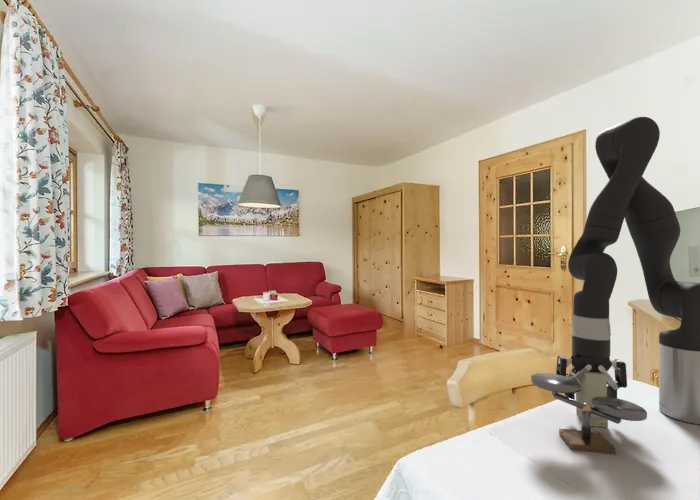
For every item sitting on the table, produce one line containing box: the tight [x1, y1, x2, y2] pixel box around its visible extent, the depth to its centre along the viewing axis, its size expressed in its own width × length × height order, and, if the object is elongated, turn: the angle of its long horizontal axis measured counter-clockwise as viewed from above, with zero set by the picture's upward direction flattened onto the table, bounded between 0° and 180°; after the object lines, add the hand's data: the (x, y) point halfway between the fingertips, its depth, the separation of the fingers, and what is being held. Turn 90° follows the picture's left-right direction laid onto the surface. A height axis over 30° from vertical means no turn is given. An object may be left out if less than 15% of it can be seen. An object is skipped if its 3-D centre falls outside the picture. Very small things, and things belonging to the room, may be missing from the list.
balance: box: [530, 372, 648, 455], centre depth 70 cm, size 21×9×13 cm, turn 79°
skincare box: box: [575, 372, 609, 428], centre depth 80 cm, size 6×4×12 cm
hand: (590, 401), depth 80 cm, fingers open, 8 cm apart
